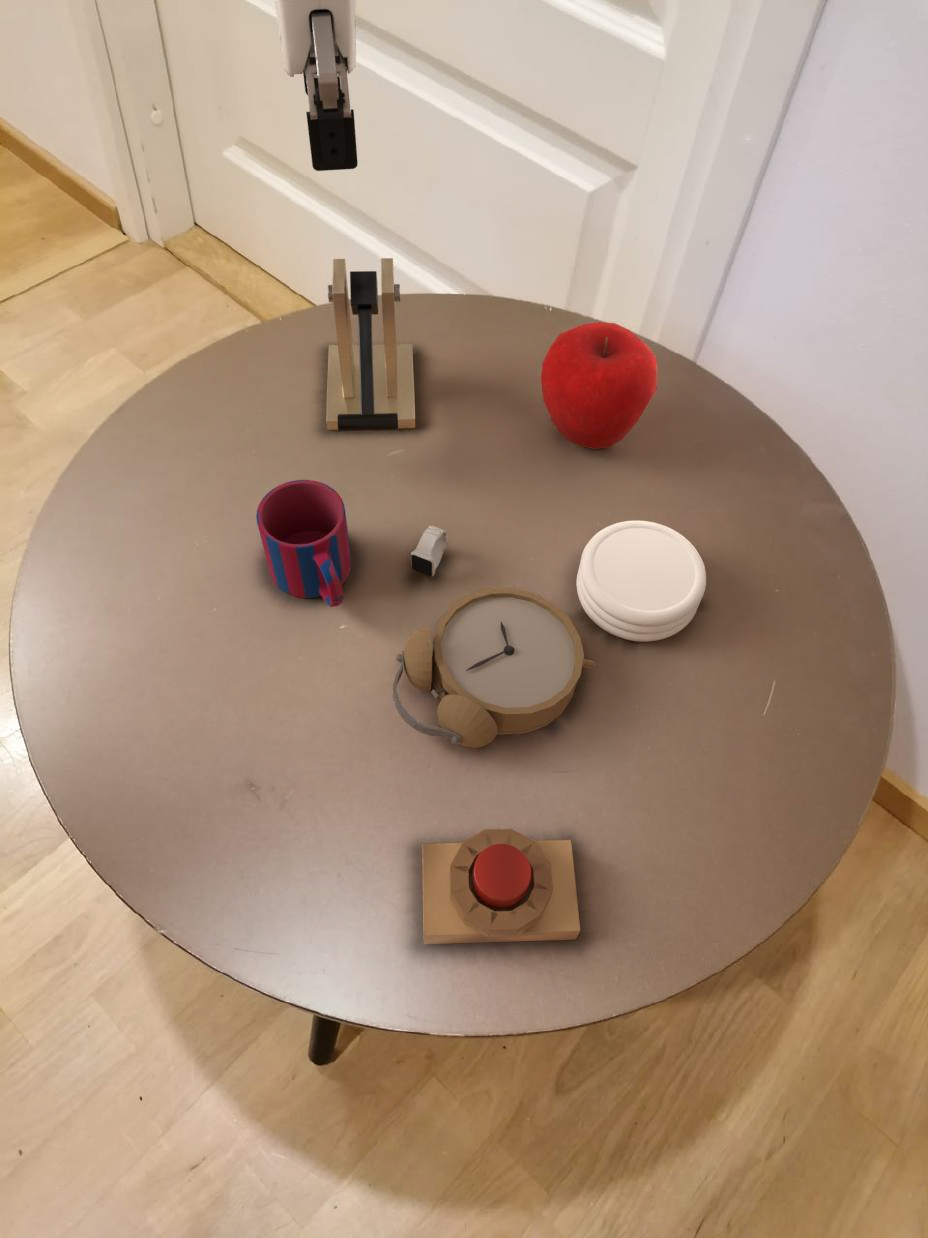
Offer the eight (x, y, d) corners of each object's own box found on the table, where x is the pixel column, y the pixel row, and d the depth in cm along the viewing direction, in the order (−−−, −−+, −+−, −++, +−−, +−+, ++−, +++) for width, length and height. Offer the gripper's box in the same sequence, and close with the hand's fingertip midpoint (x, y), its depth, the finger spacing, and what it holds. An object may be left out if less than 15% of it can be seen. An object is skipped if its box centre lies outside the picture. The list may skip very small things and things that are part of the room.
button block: (423, 948, 61) (423, 932, 57) (422, 851, 64) (421, 830, 61) (576, 943, 61) (585, 927, 58) (566, 847, 65) (574, 826, 61)
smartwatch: (428, 544, 78) (428, 514, 75) (452, 552, 78) (452, 523, 75) (410, 576, 77) (408, 547, 73) (434, 585, 76) (433, 556, 73)
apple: (516, 444, 85) (527, 350, 76) (562, 380, 90) (577, 284, 80) (616, 486, 83) (639, 395, 73) (657, 418, 87) (684, 324, 78)
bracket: (415, 428, 86) (413, 314, 75) (327, 430, 85) (312, 315, 74) (412, 353, 91) (409, 236, 80) (329, 354, 90) (316, 237, 80)
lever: (398, 433, 80) (397, 426, 77) (339, 434, 79) (337, 427, 77) (393, 282, 80) (393, 270, 78) (335, 282, 80) (332, 271, 78)
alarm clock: (617, 671, 69) (447, 752, 62) (597, 707, 73) (435, 787, 66) (531, 565, 74) (365, 630, 67) (517, 604, 78) (358, 669, 71)
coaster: (714, 633, 75) (726, 609, 72) (594, 653, 73) (601, 630, 70) (674, 535, 80) (683, 509, 77) (561, 552, 78) (566, 526, 75)
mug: (338, 524, 79) (331, 470, 74) (373, 618, 74) (368, 568, 69) (260, 544, 78) (247, 491, 72) (290, 641, 73) (278, 592, 67)
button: (474, 909, 59) (475, 901, 57) (471, 853, 61) (472, 844, 59) (531, 907, 59) (533, 899, 57) (526, 851, 61) (529, 842, 59)
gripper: (237, -208, 59) (275, 70, 74) (241, -88, 50) (284, 202, 65) (355, -211, 60) (370, 65, 75) (381, -93, 51) (392, 196, 65)
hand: (330, 129), depth 70 cm, fingers open, 9 cm apart
